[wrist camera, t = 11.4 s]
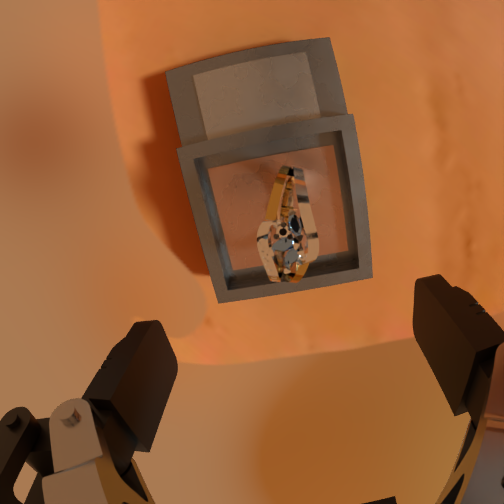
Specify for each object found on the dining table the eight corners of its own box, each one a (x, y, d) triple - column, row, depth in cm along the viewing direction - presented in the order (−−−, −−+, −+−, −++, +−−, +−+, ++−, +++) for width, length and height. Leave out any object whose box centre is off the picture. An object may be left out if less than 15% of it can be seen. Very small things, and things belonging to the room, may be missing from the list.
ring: (271, 157, 21) (266, 171, 14) (316, 165, 21) (336, 183, 14) (257, 250, 24) (245, 306, 16) (299, 257, 24) (306, 315, 16)
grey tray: (177, 77, 22) (157, 68, 18) (323, 47, 20) (333, 31, 16) (226, 277, 28) (218, 303, 24) (358, 255, 27) (372, 277, 23)
